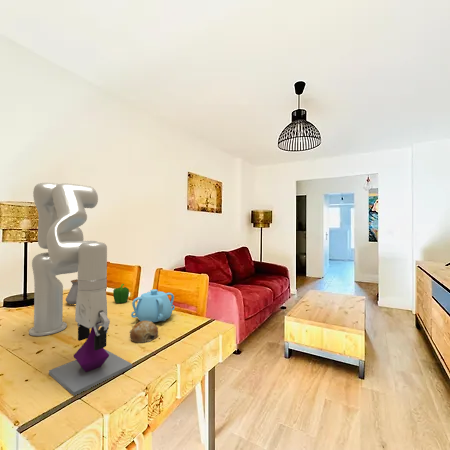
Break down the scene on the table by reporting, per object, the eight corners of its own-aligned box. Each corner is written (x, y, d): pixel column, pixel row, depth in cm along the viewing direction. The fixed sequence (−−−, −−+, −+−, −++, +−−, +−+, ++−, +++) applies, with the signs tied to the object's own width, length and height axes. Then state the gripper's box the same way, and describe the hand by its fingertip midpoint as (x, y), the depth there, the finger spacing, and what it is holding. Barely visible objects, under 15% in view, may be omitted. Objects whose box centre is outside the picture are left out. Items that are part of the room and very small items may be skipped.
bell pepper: (121, 305, 135) (121, 286, 135) (110, 303, 137) (110, 285, 138) (132, 301, 142) (132, 283, 143) (121, 299, 145) (121, 282, 146)
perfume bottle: (100, 357, 78) (100, 299, 78) (109, 366, 72) (110, 304, 73) (73, 366, 72) (73, 304, 73) (80, 377, 67) (81, 310, 67)
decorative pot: (149, 312, 123) (149, 284, 124) (178, 315, 119) (178, 286, 119) (127, 324, 108) (127, 292, 108) (159, 328, 103) (159, 295, 103)
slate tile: (48, 374, 70) (48, 370, 70) (104, 351, 83) (104, 348, 83) (74, 396, 61) (74, 392, 61) (132, 367, 74) (132, 363, 74)
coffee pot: (65, 302, 140) (66, 275, 140) (88, 299, 146) (89, 273, 146) (64, 313, 122) (64, 282, 122) (91, 309, 128) (91, 280, 128)
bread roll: (138, 355, 89) (144, 336, 87) (121, 336, 94) (127, 319, 92) (159, 344, 97) (165, 327, 95) (143, 327, 102) (149, 311, 100)
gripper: (65, 283, 75) (64, 340, 74) (94, 291, 64) (93, 358, 64) (91, 279, 81) (90, 332, 80) (120, 286, 71) (120, 347, 70)
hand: (91, 343), depth 72 cm, fingers open, 9 cm apart
